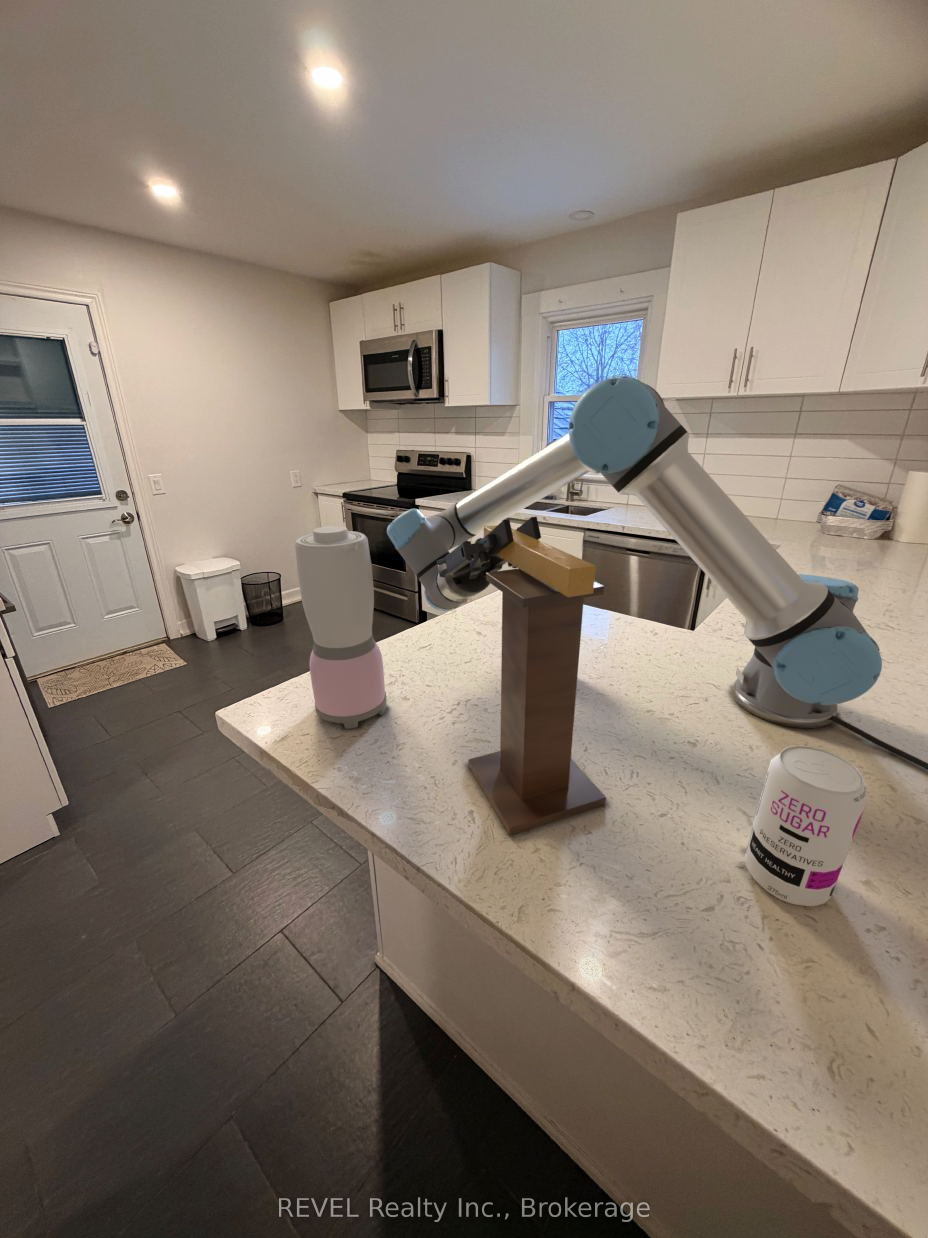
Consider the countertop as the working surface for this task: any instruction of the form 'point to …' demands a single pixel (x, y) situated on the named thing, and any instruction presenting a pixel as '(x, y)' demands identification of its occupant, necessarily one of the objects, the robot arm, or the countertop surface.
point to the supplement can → (805, 824)
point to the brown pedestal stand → (536, 707)
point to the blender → (341, 624)
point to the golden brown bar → (548, 564)
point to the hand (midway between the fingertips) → (522, 528)
